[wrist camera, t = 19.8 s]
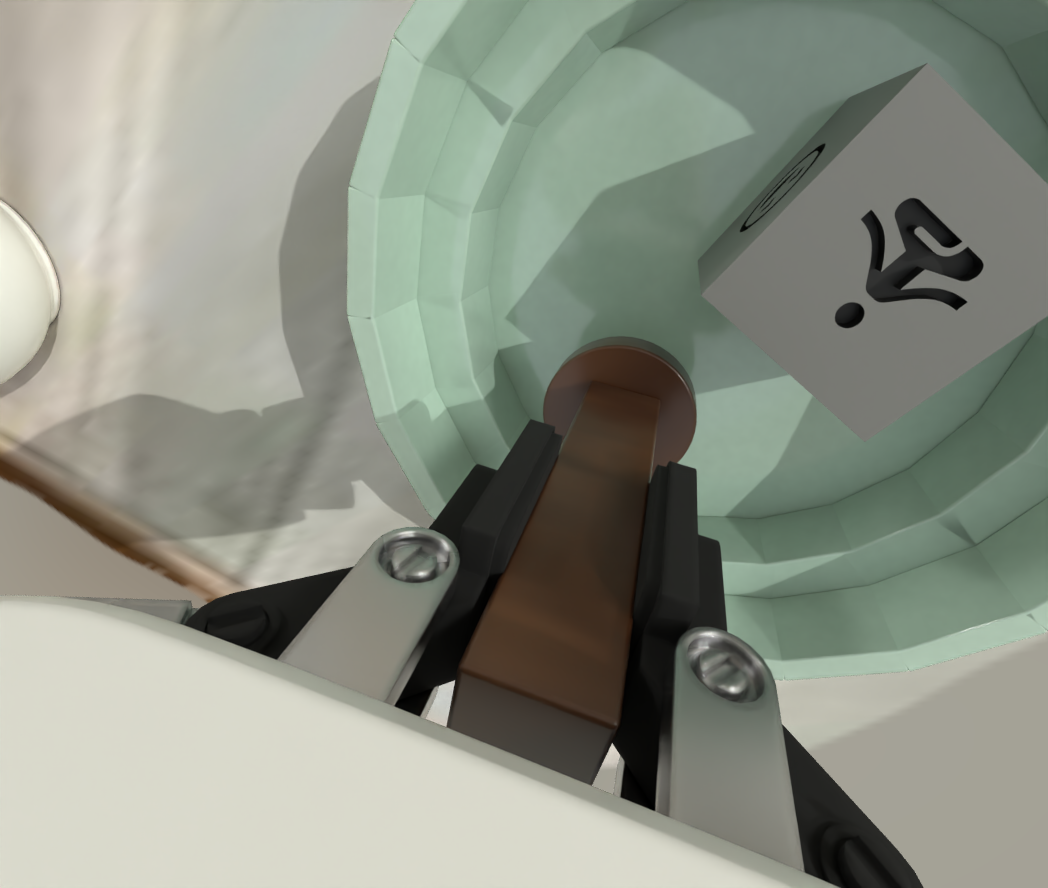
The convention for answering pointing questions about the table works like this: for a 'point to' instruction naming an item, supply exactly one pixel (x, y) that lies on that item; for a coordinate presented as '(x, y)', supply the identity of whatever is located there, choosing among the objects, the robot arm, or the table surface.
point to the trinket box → (23, 293)
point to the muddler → (577, 564)
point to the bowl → (697, 294)
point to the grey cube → (888, 252)
